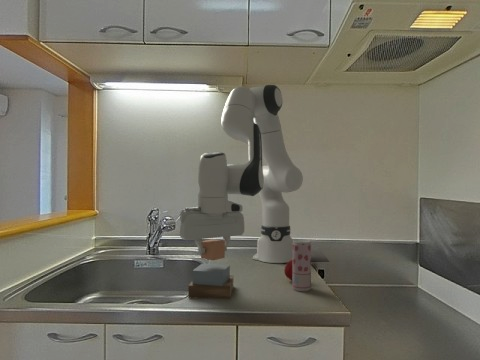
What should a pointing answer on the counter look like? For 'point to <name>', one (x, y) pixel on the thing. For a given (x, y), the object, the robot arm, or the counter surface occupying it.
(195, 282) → the grey block
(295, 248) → the beverage can
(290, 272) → the onion
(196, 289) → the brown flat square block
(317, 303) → the counter surface
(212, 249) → the rust cube
